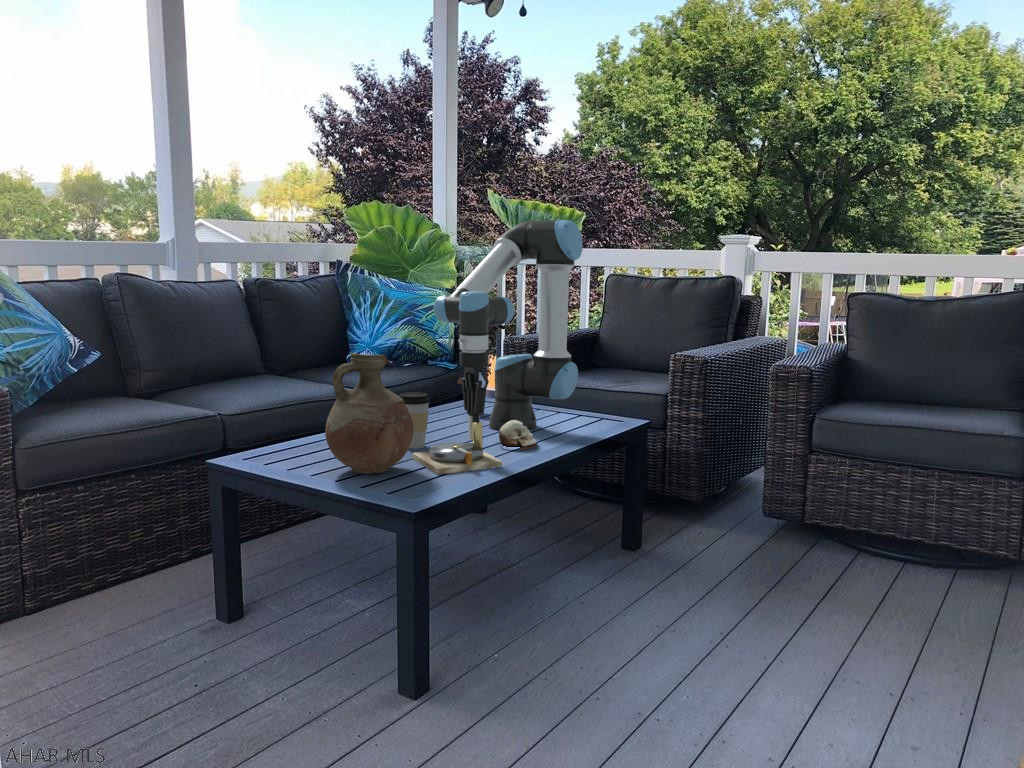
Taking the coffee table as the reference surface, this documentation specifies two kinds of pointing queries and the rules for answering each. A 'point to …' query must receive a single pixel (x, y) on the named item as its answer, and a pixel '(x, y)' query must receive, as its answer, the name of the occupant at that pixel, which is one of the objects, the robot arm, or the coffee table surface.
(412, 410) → the coffee cup
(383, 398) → the jug
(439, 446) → the turntable
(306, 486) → the coffee table surface
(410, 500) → the coffee table surface
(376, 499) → the coffee table surface
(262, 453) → the coffee table surface
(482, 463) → the base plate
